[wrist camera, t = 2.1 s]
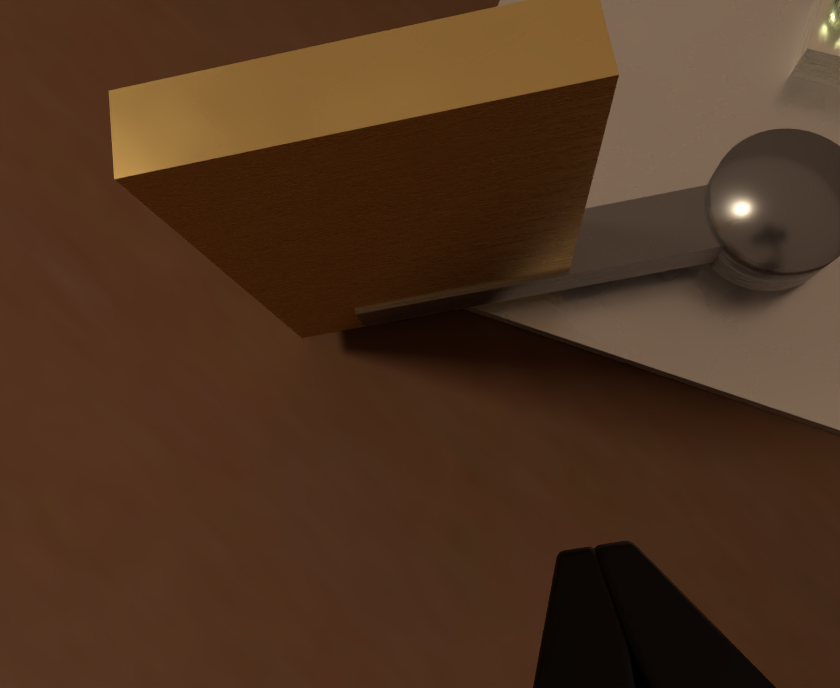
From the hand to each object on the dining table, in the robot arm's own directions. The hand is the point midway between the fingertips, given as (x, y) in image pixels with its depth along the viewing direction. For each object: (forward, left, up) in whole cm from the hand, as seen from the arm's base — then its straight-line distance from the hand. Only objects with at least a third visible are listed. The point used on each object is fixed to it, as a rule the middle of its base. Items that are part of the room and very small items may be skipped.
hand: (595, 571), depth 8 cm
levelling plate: (0, -13, -14) cm, 19 cm away
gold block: (+2, -8, -13) cm, 15 cm away
